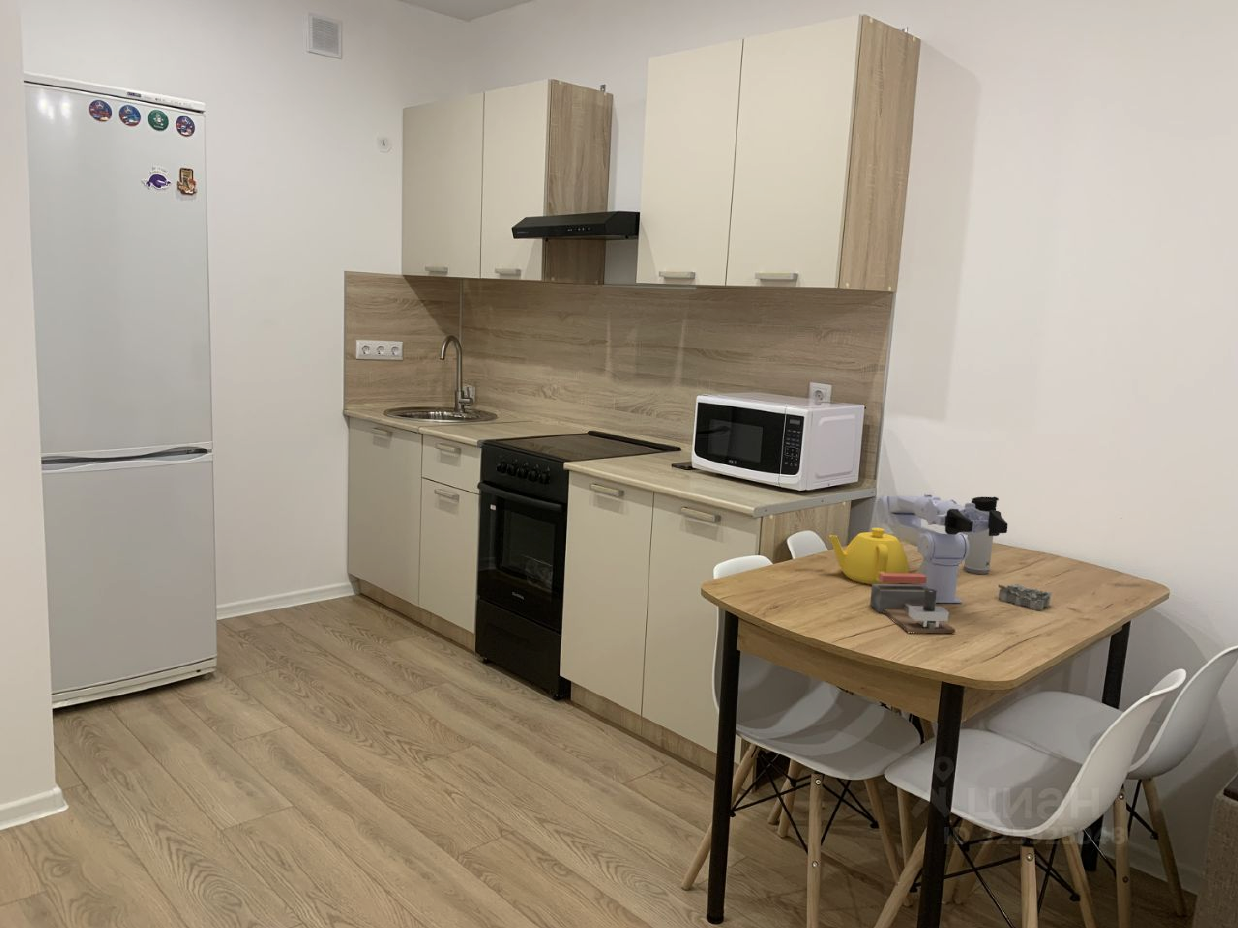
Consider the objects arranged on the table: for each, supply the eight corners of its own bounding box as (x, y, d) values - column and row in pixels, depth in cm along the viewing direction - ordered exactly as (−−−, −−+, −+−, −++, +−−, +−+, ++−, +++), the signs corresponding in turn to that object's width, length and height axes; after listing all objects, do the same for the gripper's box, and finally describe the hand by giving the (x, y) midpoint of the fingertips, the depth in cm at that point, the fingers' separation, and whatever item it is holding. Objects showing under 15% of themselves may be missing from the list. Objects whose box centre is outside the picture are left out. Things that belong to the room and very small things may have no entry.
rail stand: (870, 605, 213) (872, 583, 212) (920, 605, 215) (923, 584, 214) (903, 633, 195) (906, 610, 194) (959, 634, 196) (961, 611, 195)
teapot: (900, 571, 244) (905, 523, 242) (916, 592, 226) (921, 540, 223) (822, 566, 246) (826, 518, 244) (831, 586, 227) (835, 534, 225)
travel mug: (994, 575, 245) (1002, 499, 242) (968, 573, 245) (976, 498, 242) (985, 568, 251) (993, 495, 248) (960, 567, 251) (968, 493, 248)
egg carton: (994, 600, 223) (995, 583, 222) (1009, 595, 228) (1011, 579, 227) (1038, 612, 215) (1040, 595, 214) (1053, 607, 220) (1055, 590, 219)
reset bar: (878, 579, 211) (879, 573, 211) (921, 580, 212) (922, 573, 212) (882, 582, 209) (883, 576, 209) (925, 583, 210) (926, 576, 210)
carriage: (907, 621, 199) (911, 587, 198) (939, 621, 199) (943, 588, 198) (914, 626, 195) (918, 592, 194) (947, 627, 196) (950, 593, 195)
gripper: (929, 498, 211) (956, 507, 198) (990, 501, 213) (1022, 509, 199) (926, 530, 212) (954, 540, 199) (988, 532, 214) (1019, 542, 200)
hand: (988, 527), depth 199 cm, fingers open, 7 cm apart
